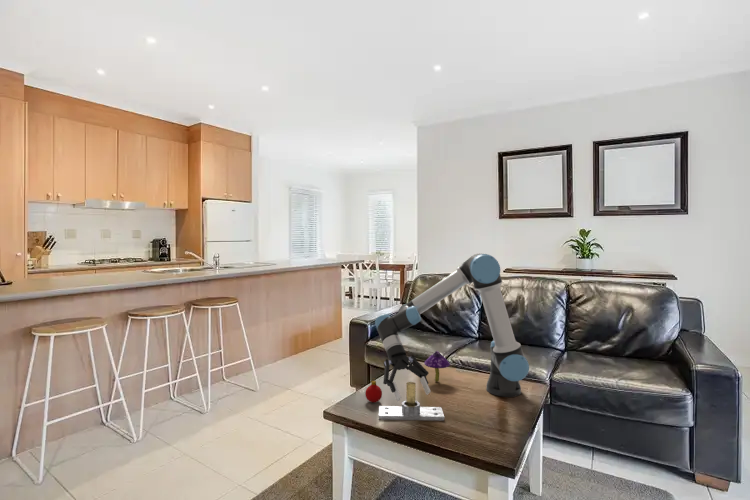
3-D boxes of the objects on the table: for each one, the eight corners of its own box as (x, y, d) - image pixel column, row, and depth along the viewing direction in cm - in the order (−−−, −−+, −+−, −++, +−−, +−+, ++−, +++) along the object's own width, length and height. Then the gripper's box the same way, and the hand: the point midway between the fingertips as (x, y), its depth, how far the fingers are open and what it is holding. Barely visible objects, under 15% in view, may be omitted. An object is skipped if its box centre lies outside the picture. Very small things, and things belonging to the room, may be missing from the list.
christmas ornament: (379, 398, 176) (379, 375, 176) (383, 404, 169) (384, 380, 169) (363, 399, 174) (363, 376, 174) (367, 405, 167) (367, 382, 167)
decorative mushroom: (419, 382, 196) (419, 351, 196) (432, 375, 206) (433, 346, 205) (441, 388, 188) (441, 356, 188) (454, 381, 197) (454, 350, 197)
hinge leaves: (441, 410, 163) (441, 399, 163) (444, 420, 154) (444, 408, 154) (379, 409, 164) (379, 398, 163) (378, 419, 155) (378, 407, 154)
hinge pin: (415, 409, 160) (415, 381, 160) (415, 413, 157) (415, 385, 157) (406, 409, 161) (406, 381, 160) (406, 412, 157) (406, 384, 157)
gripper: (415, 349, 178) (435, 395, 165) (364, 357, 166) (382, 406, 153) (422, 340, 173) (444, 386, 160) (371, 347, 161) (389, 397, 148)
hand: (414, 396), depth 156 cm, fingers open, 13 cm apart
